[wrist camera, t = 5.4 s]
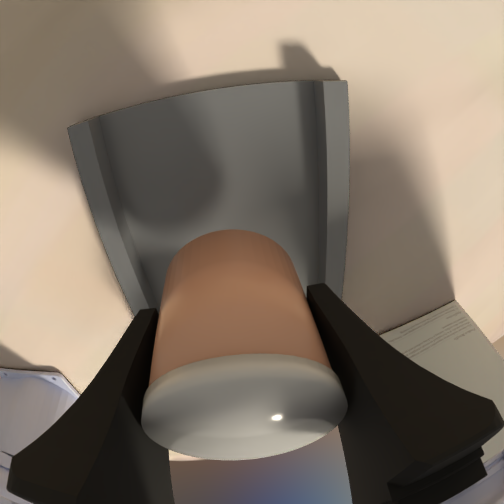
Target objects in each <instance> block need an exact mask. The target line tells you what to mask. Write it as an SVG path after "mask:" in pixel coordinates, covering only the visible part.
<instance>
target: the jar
mask: <svg viewBox="0 0 504 504" xmlns="http://www.w3.org/2000/svg"><path fill="white" fill-rule="evenodd" d="M347 408H348V403H347V399H346V396H345V393H344V390H343V388H342V385H341V382H340V380H339V378H338V376H337V375H336V374H335V373H334V371H333V370H332V368H331V365H330V362H329V359H328V357H327V354H326V351H325V348H324V345H323V342H322V340H321V337H320V334H319V331H318V329H317V326H316V323H315V320H314V318H313V315H312V312H311V309H310V307H309V304H308V301H307V299H306V296H305V293H304V291H303V288H302V285H301V283H300V280H299V277H298V275H297V272H296V269H295V267H294V264H293V262H292V260H291V258H290V256H289V255H288V254H287V252H286V251H285V250H284V249H283V248H282V247H281V246H280V245H279V244H277V243H276V242H275V241H273V240H272V239H270V238H268V237H266V236H264V235H261V234H259V233H255V232H252V231H246V230H237V229H228V230H219V231H215V232H210V233H207V234H205V235H202V236H200V237H198V238H196V239H193V240H192V241H190V242H189V243H187V244H186V245H185V246H184V247H182V248H181V249H180V250H179V251H178V252H177V254H176V255H175V256H174V257H173V259H172V261H171V262H170V264H169V267H168V269H167V273H166V277H165V283H164V288H163V294H162V299H161V305H160V311H159V317H158V323H157V329H156V336H155V342H154V349H153V357H152V364H151V372H150V380H149V387H148V389H147V390H146V392H145V395H144V399H143V408H142V417H141V424H142V428H143V430H144V432H145V433H146V434H147V435H148V437H149V438H151V439H152V440H153V441H154V442H156V443H158V444H159V445H161V446H163V447H165V448H167V449H169V450H172V451H174V452H177V453H181V454H184V455H188V456H192V457H198V458H204V459H213V460H247V459H256V458H263V457H268V456H273V455H277V454H281V453H285V452H289V451H292V450H295V449H297V448H300V447H303V446H305V445H308V444H310V443H312V442H314V441H316V440H317V439H319V438H321V437H323V436H325V435H326V434H328V433H329V432H330V431H332V430H333V429H334V428H335V427H336V426H337V425H338V424H339V423H340V422H341V421H342V420H343V418H344V417H345V415H346V412H347Z"/></svg>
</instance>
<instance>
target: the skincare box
mask: <svg viewBox="0 0 504 504" xmlns="http://www.w3.org/2000/svg"><path fill="white" fill-rule="evenodd" d="M379 336H380V337H381V338H383V339H384V340H385V341H386V342H387V343H389V344H390V345H391V346H392V347H394V348H395V349H396V350H398V351H399V352H401V353H402V354H403V355H405V356H406V357H407V358H409V359H410V360H412V361H413V362H415V363H416V364H418V365H420V366H421V367H423V368H425V369H426V370H428V371H430V372H432V373H433V374H435V375H437V376H438V377H440V378H442V379H444V380H446V381H448V382H450V383H452V384H454V385H456V386H458V387H460V388H462V389H465V390H467V391H469V392H472V393H475V394H477V395H480V396H483V397H485V398H488V399H491V400H493V402H494V403H495V405H496V407H497V409H498V410H499V412H500V414H501V416H502V418H503V420H504V360H503V358H502V357H501V356H500V354H499V353H498V352H497V350H496V349H495V348H494V346H493V345H492V344H491V342H490V341H489V340H488V339H487V337H486V336H485V335H484V334H483V332H482V331H481V330H480V328H479V327H478V326H477V325H476V324H475V322H474V321H473V320H472V319H471V318H470V316H469V315H468V314H467V313H466V312H465V310H464V309H463V308H462V307H461V306H460V305H459V303H458V302H457V301H456V300H454V301H453V302H451V303H449V304H447V305H445V306H443V307H441V308H439V309H437V310H435V311H433V312H431V313H429V314H427V315H425V316H423V317H420V318H418V319H416V320H414V321H412V322H410V323H407V324H405V325H403V326H401V327H398V328H396V329H394V330H391V331H389V332H387V333H384V334H382V335H379ZM482 449H483V451H484V456H482V457H481V460H482V462H483V463H484V462H486V461H487V460H489V459H490V458H492V457H493V456H495V455H496V454H497V453H499V452H500V451H502V450H503V449H504V427H503V428H502V429H501V430H500V431H499V432H498V433H497V434H496V435H495V436H494V437H492V438H491V439H490V440H489V441H487V442H486V443H485V444H484V445H482Z"/></svg>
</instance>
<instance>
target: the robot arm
mask: <svg viewBox="0 0 504 504" xmlns="http://www.w3.org/2000/svg"><path fill="white" fill-rule="evenodd" d="M306 299H307V301H308V304H309V307H310V309H311V312H312V315H313V318H314V320H315V323H316V326H317V329H318V331H319V334H320V337H321V340H322V342H323V345H324V348H325V351H326V354H327V357H328V359H329V362H330V365H331V368H332V370H333V371H334V373H335V374H336V375H337V376H338V378H339V380H340V382H341V385H342V388H343V390H344V393H345V396H346V399H347V403H348V408H347V412H346V415H345V417H344V418H343V420H342V421H341V422H340V423H339V424H338V428H339V432H340V437H341V441H342V446H343V451H344V455H345V460H346V466H347V470H348V476H349V483H350V489H351V495H352V503H353V504H504V449H503V450H502V451H500V452H499V453H497V454H496V455H495V456H493V457H492V458H490V459H489V460H487V461H486V462H484V463H483V462H482V460H481V457H482V456H484V451H483V449H482V445H484V444H485V443H486V442H487V441H489V440H490V439H491V438H492V437H494V436H495V435H496V434H497V433H498V432H499V431H500V430H501V429H502V428H503V427H504V420H503V418H502V416H501V414H500V412H499V410H498V409H497V407H496V405H495V403H494V402H493V400H491V399H488V398H485V397H483V396H480V395H477V394H475V393H472V392H469V391H467V390H465V389H462V388H460V387H458V386H456V385H454V384H452V383H450V382H448V381H446V380H444V379H442V378H440V377H438V376H437V375H435V374H433V373H432V372H430V371H428V370H426V369H425V368H423V367H421V366H420V365H418V364H416V363H415V362H413V361H412V360H410V359H409V358H407V357H406V356H405V355H403V354H402V353H401V352H399V351H398V350H396V349H395V348H394V347H392V346H391V345H390V344H389V343H387V342H386V341H385V340H384V339H383V338H381V337H380V336H379V335H378V334H377V333H375V332H374V331H373V330H372V329H371V328H370V327H369V326H368V325H366V324H365V323H364V322H363V321H362V320H361V319H360V318H359V317H358V316H357V315H356V314H355V313H354V312H353V311H352V310H351V309H350V308H349V307H348V306H347V305H346V304H345V303H344V302H343V301H342V300H341V299H340V298H339V297H338V296H337V295H336V294H335V293H334V292H333V291H332V290H331V289H330V288H329V287H328V286H327V285H326V284H325V283H319V284H314V285H308V286H307V298H306ZM158 317H159V314H158V311H157V309H156V308H149V309H140V310H139V312H138V313H137V314H136V316H135V317H134V319H133V320H132V322H131V324H130V325H129V327H128V328H127V330H126V331H125V333H124V334H123V336H122V338H121V339H120V341H119V342H118V344H117V345H116V347H115V348H114V350H113V351H112V353H111V355H110V356H109V358H108V359H107V361H106V362H105V363H104V365H103V366H102V368H101V369H100V370H99V372H98V373H97V375H96V376H95V378H94V379H93V380H92V382H91V383H90V384H89V385H88V387H87V388H86V389H85V390H84V392H83V393H82V394H81V395H80V394H79V393H78V392H77V391H76V390H75V389H74V388H73V386H72V385H71V384H70V383H69V382H68V381H67V380H66V379H65V377H64V376H63V375H62V374H60V373H58V372H40V371H25V370H14V369H3V368H0V377H1V378H0V504H175V503H174V498H173V491H172V484H171V475H170V466H169V451H168V449H167V448H165V447H163V446H161V445H159V444H158V443H156V442H154V441H153V440H152V439H151V438H149V437H148V435H147V434H146V433H145V432H144V430H143V428H142V424H141V417H142V408H143V399H144V395H145V392H146V390H147V389H148V387H149V380H150V372H151V364H152V357H153V349H154V342H155V336H156V329H157V323H158Z"/></svg>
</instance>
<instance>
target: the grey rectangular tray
mask: <svg viewBox="0 0 504 504" xmlns="http://www.w3.org/2000/svg"><path fill="white" fill-rule="evenodd" d="M67 129H68V133H69V137H70V141H71V145H72V149H73V153H74V157H75V160H76V164H77V168H78V171H79V174H80V178H81V181H82V184H83V188H84V191H85V194H86V197H87V200H88V203H89V206H90V209H91V212H92V215H93V218H94V221H95V223H96V226H97V229H98V232H99V234H100V237H101V240H102V242H103V245H104V247H105V250H106V252H107V255H108V257H109V260H110V262H111V265H112V267H113V269H114V272H115V274H116V276H117V279H118V281H119V283H120V286H121V288H122V290H123V292H124V294H125V297H126V299H127V301H128V303H129V305H130V307H131V309H132V312H133V314H134V316H136V314H137V313H138V312H139V310H140V309H149V308H156V309H157V311H158V314H159V311H160V305H161V299H162V294H163V288H164V283H165V277H166V273H167V269H168V267H169V264H170V262H171V261H172V259H173V257H174V256H175V255H176V254H177V252H178V251H179V250H180V249H181V248H182V247H184V246H185V245H186V244H187V243H189V242H190V241H192V240H193V239H196V238H198V237H200V236H202V235H205V234H207V233H210V232H215V231H219V230H228V229H237V230H246V231H252V232H255V233H259V234H261V235H264V236H266V237H268V238H270V239H272V240H273V241H275V242H276V243H277V244H279V245H280V246H281V247H282V248H283V249H284V250H285V251H286V252H287V254H288V255H289V256H290V258H291V260H292V262H293V264H294V267H295V269H296V272H297V275H298V277H299V280H300V283H301V285H302V288H303V291H304V293H305V296H306V298H307V286H308V285H314V284H319V283H325V284H326V285H327V286H328V287H329V288H330V289H331V290H332V291H333V292H334V293H335V294H336V295H337V296H338V297H339V298H340V299H341V300H342V291H343V281H344V270H345V258H346V245H347V229H348V209H349V173H350V138H349V103H348V84H347V81H345V80H308V81H285V82H271V83H259V84H249V85H241V86H232V87H225V88H218V89H211V90H205V91H199V92H194V93H188V94H183V95H178V96H173V97H168V98H164V99H159V100H155V101H151V102H147V103H143V104H139V105H135V106H131V107H128V108H124V109H121V110H117V111H114V112H110V113H107V114H104V115H101V116H98V117H94V118H91V119H88V120H86V121H83V122H80V123H77V124H74V125H72V126H70V127H68V128H67Z"/></svg>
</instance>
